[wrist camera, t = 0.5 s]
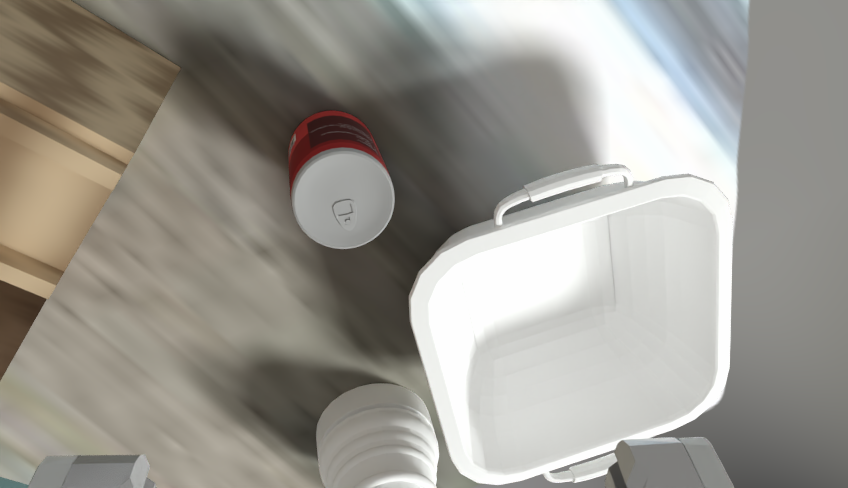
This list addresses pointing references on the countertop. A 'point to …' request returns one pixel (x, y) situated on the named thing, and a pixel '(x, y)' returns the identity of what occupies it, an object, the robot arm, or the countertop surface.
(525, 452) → the baking dish
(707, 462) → the robot arm
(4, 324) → the end cap post
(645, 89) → the countertop surface
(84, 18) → the tan wooden tall block
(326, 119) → the canned food
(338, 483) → the honey pot
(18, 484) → the teal block
